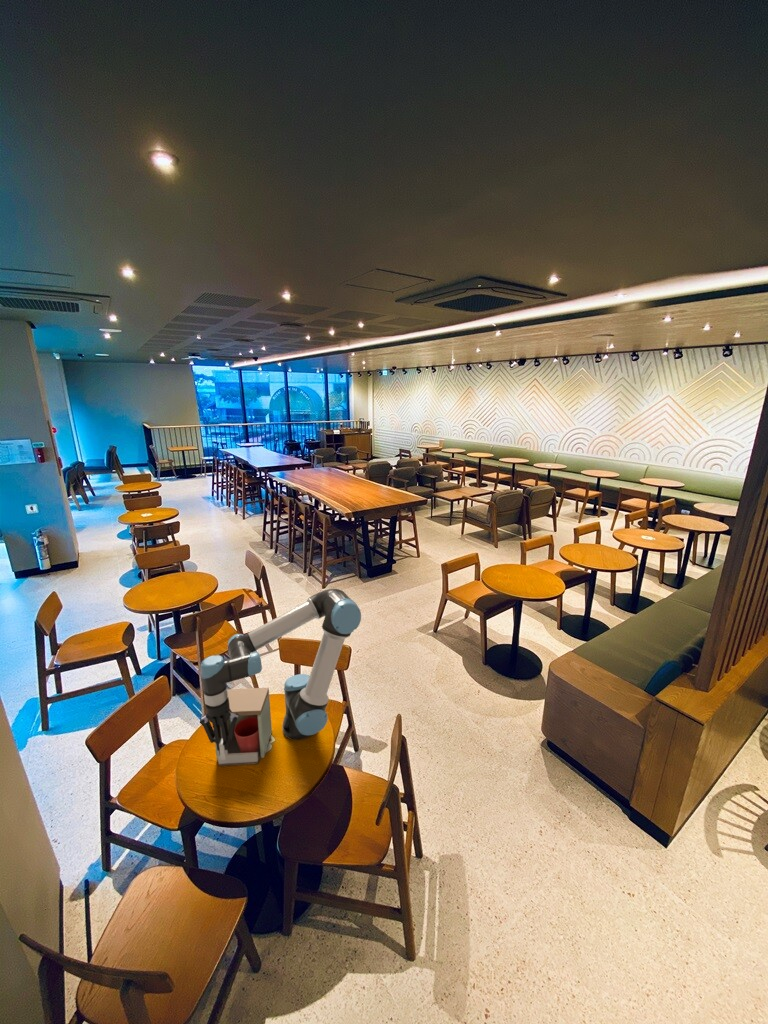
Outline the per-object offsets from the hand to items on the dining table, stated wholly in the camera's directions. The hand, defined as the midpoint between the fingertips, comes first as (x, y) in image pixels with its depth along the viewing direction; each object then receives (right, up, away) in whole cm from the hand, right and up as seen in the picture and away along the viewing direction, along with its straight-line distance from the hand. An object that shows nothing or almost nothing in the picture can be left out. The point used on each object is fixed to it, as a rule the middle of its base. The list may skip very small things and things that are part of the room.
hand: (224, 756), depth 142 cm
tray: (+1, -7, +16) cm, 17 cm away
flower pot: (+4, -6, +16) cm, 17 cm away
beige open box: (+1, -7, +18) cm, 19 cm away
